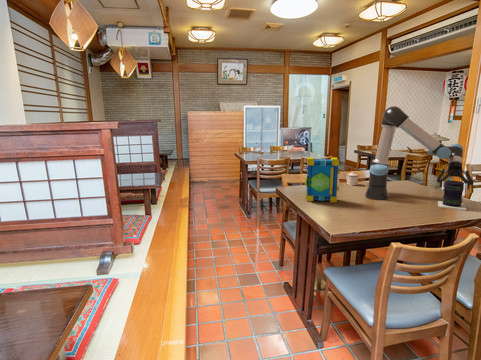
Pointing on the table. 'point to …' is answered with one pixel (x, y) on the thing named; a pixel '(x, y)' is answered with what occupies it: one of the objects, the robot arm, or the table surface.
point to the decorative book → (322, 179)
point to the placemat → (451, 207)
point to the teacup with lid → (352, 179)
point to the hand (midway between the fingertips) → (453, 191)
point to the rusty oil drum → (453, 193)
